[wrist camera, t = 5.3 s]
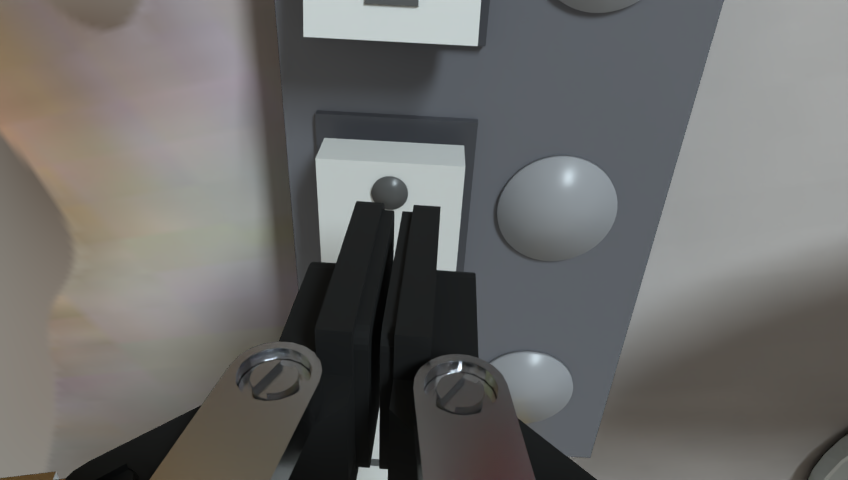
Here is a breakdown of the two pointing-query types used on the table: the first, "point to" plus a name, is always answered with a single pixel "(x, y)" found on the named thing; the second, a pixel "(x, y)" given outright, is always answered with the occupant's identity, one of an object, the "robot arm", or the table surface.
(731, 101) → the table surface
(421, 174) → the rocker
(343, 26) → the rocker
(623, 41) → the rocker switch panel
